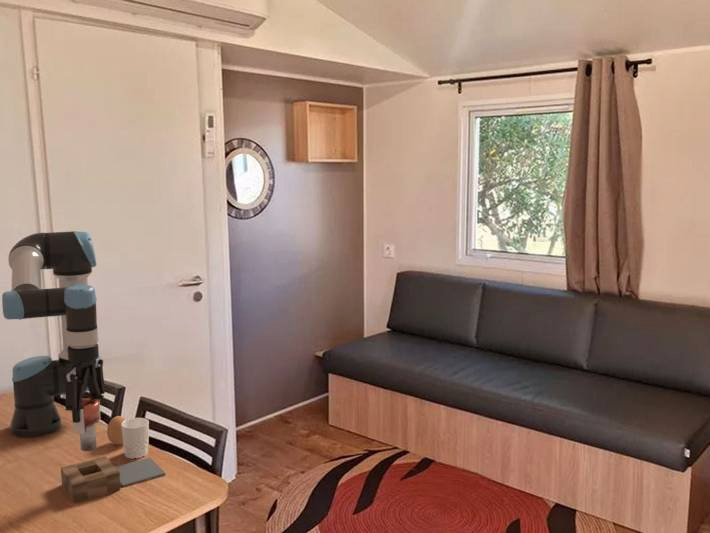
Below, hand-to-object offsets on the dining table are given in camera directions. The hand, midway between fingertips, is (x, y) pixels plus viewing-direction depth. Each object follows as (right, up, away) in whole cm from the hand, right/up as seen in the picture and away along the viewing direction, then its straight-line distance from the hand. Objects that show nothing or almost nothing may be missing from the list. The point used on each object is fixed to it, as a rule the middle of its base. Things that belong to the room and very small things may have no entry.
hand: (87, 427), depth 178 cm
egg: (-2, -13, +30) cm, 32 cm away
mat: (+10, -16, +11) cm, 22 cm away
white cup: (+6, -14, +23) cm, 27 cm away
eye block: (0, -17, +3) cm, 17 cm away
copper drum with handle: (0, -6, +1) cm, 6 cm away
